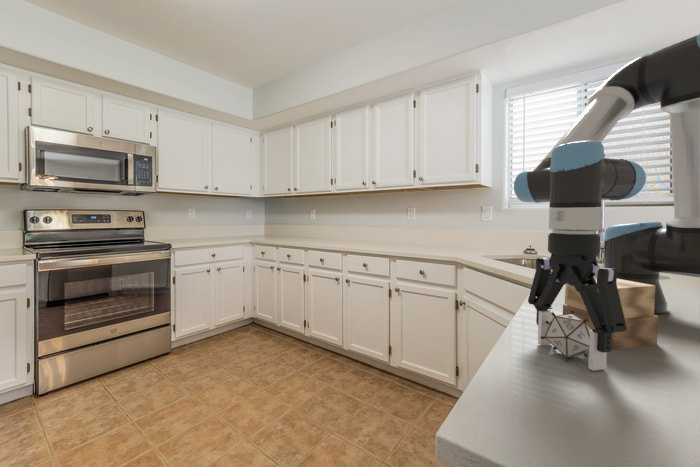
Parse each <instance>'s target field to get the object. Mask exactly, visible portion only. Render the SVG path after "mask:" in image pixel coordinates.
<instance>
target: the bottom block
mask: <svg viewBox="0 0 700 467" xmlns="http://www.w3.org/2000/svg"><path fill="white" fill-rule="evenodd" d="M571 310H573V311H574V313H573V314H574V315H575V316H577V317H579V318H580V319H582V320H583V321H584V319H587V318H588V321H587V322H586V323H587V324H588V325H589V326H590V327H591V328H592V329H595V327H594V325H593V323H592V320H591V318H590V316H589V313H588V312H587V311H584V310H581V309H578V308H574V307H571V306H568V305H567V304H565V303H564V304H562V315H566V314H571ZM659 317H660V316H659V315H657V314H654V316H645V317H636V318H628V319H625V323H626V327H627V330H626V331H623V332H614V333H612V343H611V351H618V350H619V351H620V350H627V349H633V348H640V347H649V346H650V347H651V346H657V345H658V337H659V334H658V333H659ZM602 324H603V323H602Z"/></svg>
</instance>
